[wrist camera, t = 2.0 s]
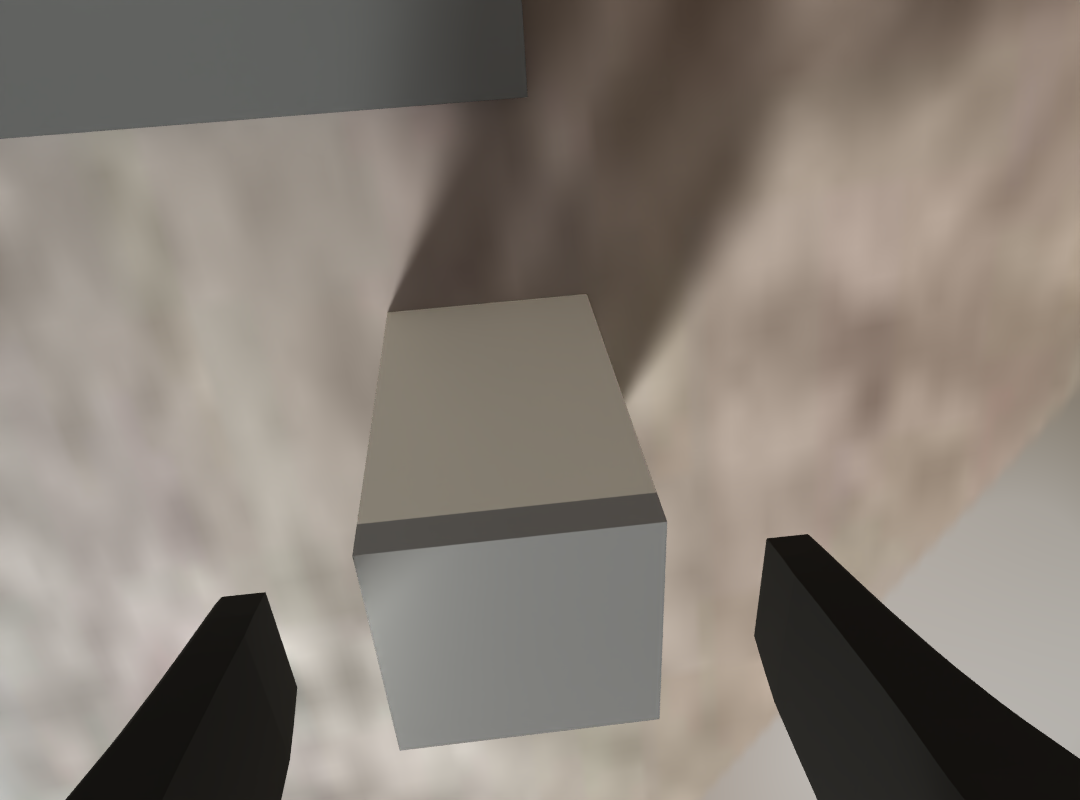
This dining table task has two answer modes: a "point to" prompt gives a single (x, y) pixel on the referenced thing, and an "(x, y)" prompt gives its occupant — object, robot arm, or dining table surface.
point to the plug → (508, 528)
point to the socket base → (246, 59)
